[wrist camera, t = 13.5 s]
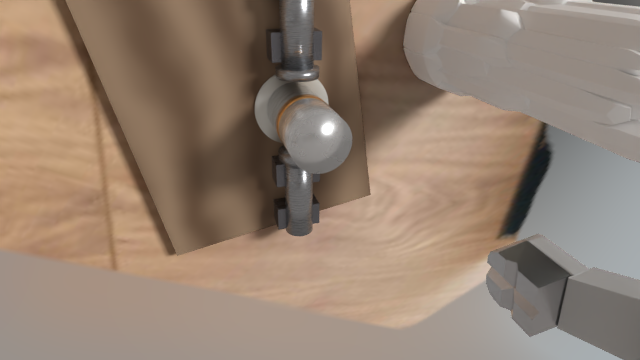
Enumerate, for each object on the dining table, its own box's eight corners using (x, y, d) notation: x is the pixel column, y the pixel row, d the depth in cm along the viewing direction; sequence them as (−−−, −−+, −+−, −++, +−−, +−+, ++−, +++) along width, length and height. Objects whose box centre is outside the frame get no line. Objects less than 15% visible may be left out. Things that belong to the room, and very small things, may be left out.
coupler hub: (272, 139, 40) (296, 181, 32) (261, 89, 37) (284, 122, 30) (321, 126, 41) (355, 164, 33) (313, 76, 38) (348, 105, 30)
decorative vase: (416, -33, 38) (719, -24, 17) (508, -20, 41) (854, 1, 20) (394, 84, 43) (609, 203, 22) (478, 87, 46) (733, 192, 25)
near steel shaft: (314, 69, 38) (328, 80, 35) (267, 72, 37) (277, 83, 33) (315, -41, 34) (331, -41, 30) (262, -42, 33) (273, -42, 29)
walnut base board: (177, 248, 44) (177, 257, 42) (61, -18, 30) (57, -17, 29) (366, 189, 48) (371, 196, 47) (337, -67, 35) (343, -68, 33)
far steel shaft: (270, 143, 40) (280, 161, 37) (313, 139, 41) (326, 155, 38) (274, 220, 44) (283, 242, 41) (313, 214, 46) (324, 235, 42)
